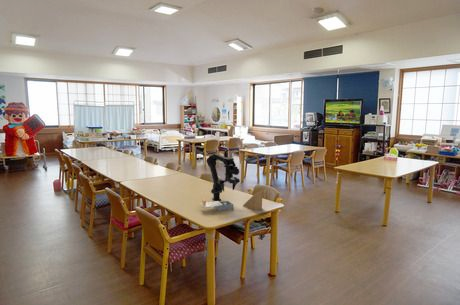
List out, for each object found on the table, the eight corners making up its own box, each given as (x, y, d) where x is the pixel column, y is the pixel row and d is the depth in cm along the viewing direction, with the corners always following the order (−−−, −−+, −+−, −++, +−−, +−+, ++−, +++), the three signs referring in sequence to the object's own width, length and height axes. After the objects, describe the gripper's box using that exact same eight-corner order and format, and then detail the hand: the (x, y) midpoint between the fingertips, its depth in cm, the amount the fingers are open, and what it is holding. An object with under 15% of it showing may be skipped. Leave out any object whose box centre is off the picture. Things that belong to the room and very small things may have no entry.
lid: (200, 203, 248) (200, 198, 248) (217, 201, 255) (217, 196, 254) (205, 207, 239) (205, 202, 238) (223, 205, 246) (223, 199, 245)
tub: (213, 207, 254) (214, 202, 253) (228, 205, 259) (228, 200, 259) (218, 211, 245) (218, 206, 244) (233, 209, 251) (233, 204, 250)
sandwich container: (248, 204, 265) (249, 187, 263) (262, 208, 254) (262, 191, 252) (241, 206, 259) (242, 188, 257) (255, 210, 248) (255, 192, 246)
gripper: (222, 175, 247) (222, 194, 250) (242, 174, 256) (242, 192, 258) (217, 173, 257) (216, 190, 260) (236, 171, 265) (236, 188, 268)
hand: (228, 190), depth 261 cm, fingers open, 9 cm apart
